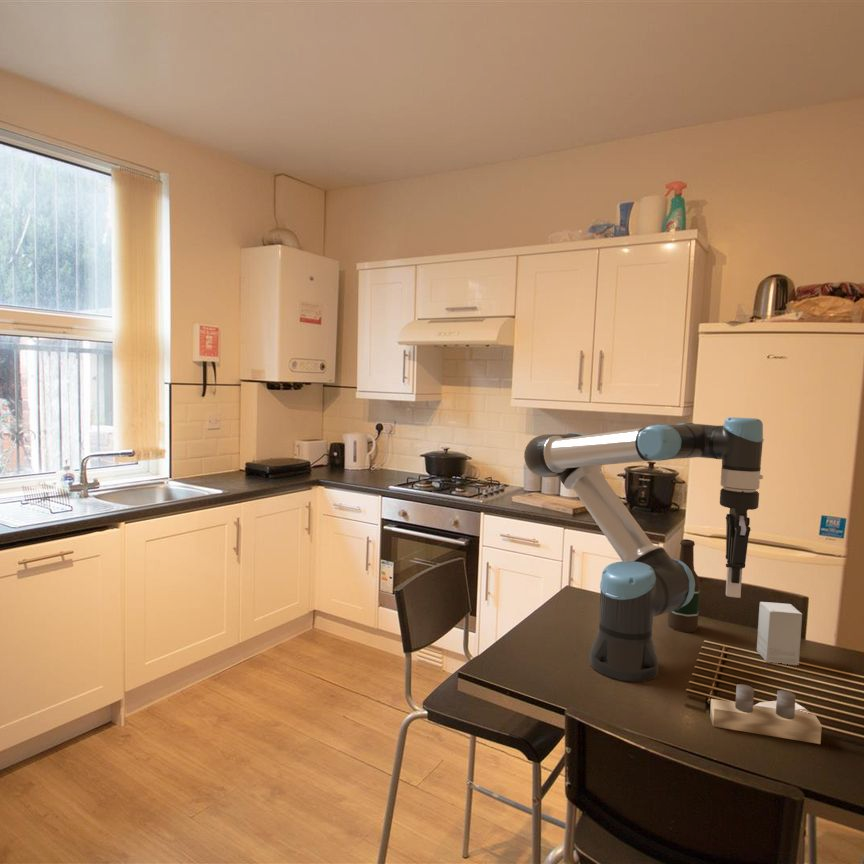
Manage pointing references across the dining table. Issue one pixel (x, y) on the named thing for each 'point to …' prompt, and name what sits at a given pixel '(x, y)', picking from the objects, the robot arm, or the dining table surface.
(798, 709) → the soap bar
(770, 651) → the supplement box
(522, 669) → the dining table surface
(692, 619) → the beer bottle
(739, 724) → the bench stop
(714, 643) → the dining table surface
